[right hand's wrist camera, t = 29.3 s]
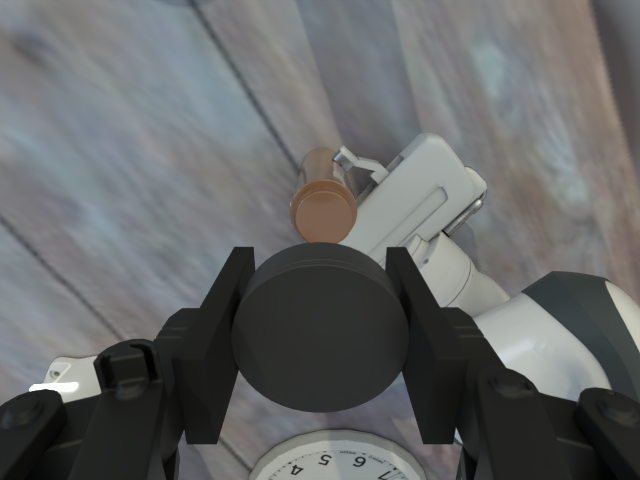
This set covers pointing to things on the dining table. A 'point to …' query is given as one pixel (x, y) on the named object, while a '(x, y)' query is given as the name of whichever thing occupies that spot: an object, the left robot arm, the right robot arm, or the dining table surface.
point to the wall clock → (337, 458)
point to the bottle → (323, 199)
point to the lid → (320, 328)
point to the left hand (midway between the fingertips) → (315, 175)
